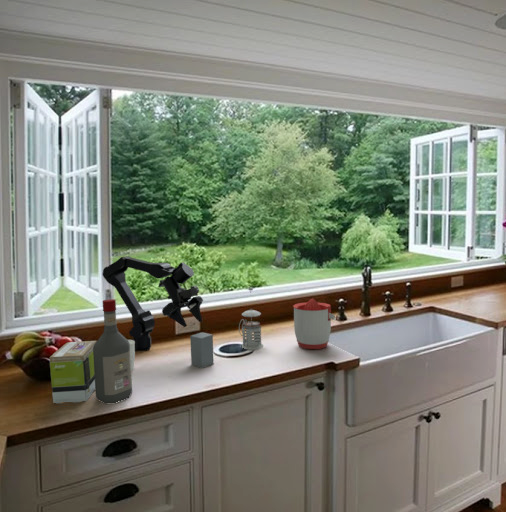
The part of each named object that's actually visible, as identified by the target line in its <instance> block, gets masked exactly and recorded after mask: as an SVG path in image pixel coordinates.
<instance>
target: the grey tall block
mask: <svg viewBox="0 0 506 512" xmlns="http://www.w3.org/2000/svg"><path fill="white" fill-rule="evenodd" d="M189 337H190V338H189V339H190V341H189V342H190V361H191V363H190V364H191V366H193V367H198V368H201V369H203V368H206V367H208V366H211V365H214V360H215V359H214V338H213V337H214V336H213V334H211V333H207V332H201V331H200V332H197V333H196V334H192V335H190V336H189Z"/></svg>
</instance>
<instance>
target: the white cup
mask: <svg viewBox="0 0 506 512" xmlns="http://www.w3.org/2000/svg"><path fill="white" fill-rule="evenodd" d="M127 340H128V341H129V344H130V358H131V372H132V371H134V370H135V360H136V359H135V357H136V351H135V341H134V340H133V339H127Z"/></svg>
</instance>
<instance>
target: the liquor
mask: <svg viewBox="0 0 506 512" xmlns="http://www.w3.org/2000/svg"><path fill="white" fill-rule="evenodd" d="M116 305H117V301H116V299H112V298H111V299H110V298H109V299H104V300H102V311H103V324H104V328H103V333H102V334H100V336H99V338H98V340H96V341H97V342H96V343H95V344H94V347H93V357H94V373H95V390H94V391H95V397H96V399H97V400H98V401H99V400H100V401H99V402H101V401H102V403H103V402H104V403H103V404H105V403H115V404H117V403H116V402H118V401H120V402H122V401H121V400H123V401H125V400H127V399H126V398H128V399H129V398H130V397H131V395H132V393H133V384H132V383H133V379H132V371H131V358H130V344H129V341H128V340H129V339H127V338H126V337H125V336H124V335H123V334H122V333H121V332H119V328H118V326H117V314H116V312H117V306H116ZM124 399H125V400H124ZM118 403H119V402H118Z"/></svg>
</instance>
